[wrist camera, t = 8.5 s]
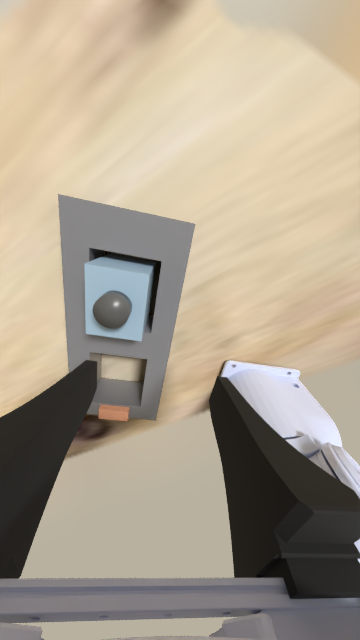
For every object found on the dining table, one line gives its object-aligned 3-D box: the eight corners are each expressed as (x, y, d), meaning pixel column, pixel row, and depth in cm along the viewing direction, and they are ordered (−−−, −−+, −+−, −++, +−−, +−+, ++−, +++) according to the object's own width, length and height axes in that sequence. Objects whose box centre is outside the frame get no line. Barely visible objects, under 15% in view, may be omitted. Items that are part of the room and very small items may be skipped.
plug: (155, 261, 18) (147, 279, 11) (149, 310, 20) (139, 350, 13) (111, 252, 17) (75, 267, 11) (109, 304, 19) (78, 342, 13)
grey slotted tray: (190, 224, 17) (196, 223, 13) (157, 396, 25) (155, 425, 21) (81, 201, 16) (52, 192, 12) (84, 388, 24) (68, 417, 20)
